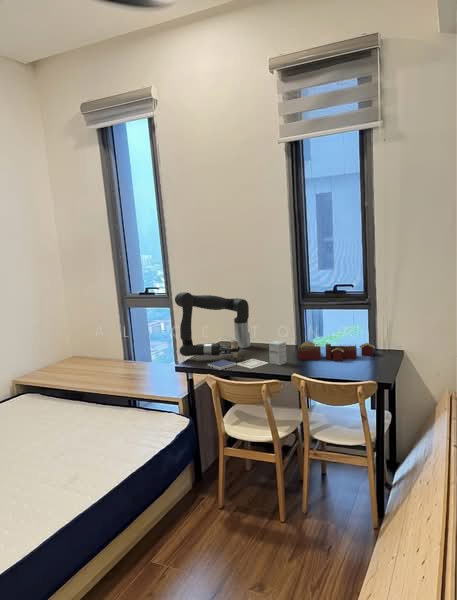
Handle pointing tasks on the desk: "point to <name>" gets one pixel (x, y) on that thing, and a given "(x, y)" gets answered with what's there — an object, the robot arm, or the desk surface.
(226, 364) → the ink pad
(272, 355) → the supplement box
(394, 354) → the desk surface
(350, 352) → the toy houses
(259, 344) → the desk surface
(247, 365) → the card sheet
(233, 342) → the stamp
